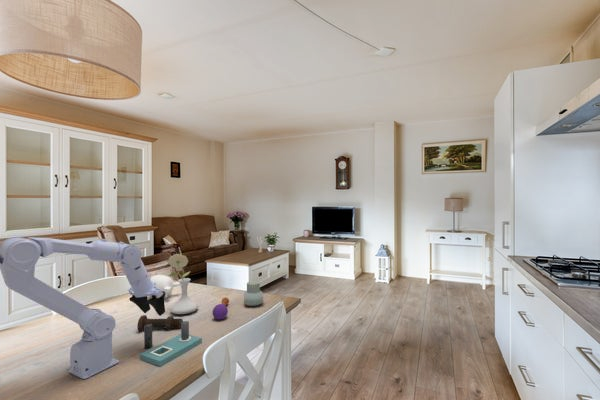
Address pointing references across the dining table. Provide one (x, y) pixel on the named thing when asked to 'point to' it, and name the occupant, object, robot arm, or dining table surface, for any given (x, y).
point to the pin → (148, 336)
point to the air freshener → (253, 294)
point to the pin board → (171, 347)
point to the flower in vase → (182, 287)
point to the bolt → (159, 323)
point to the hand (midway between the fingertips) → (154, 312)
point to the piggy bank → (164, 283)
